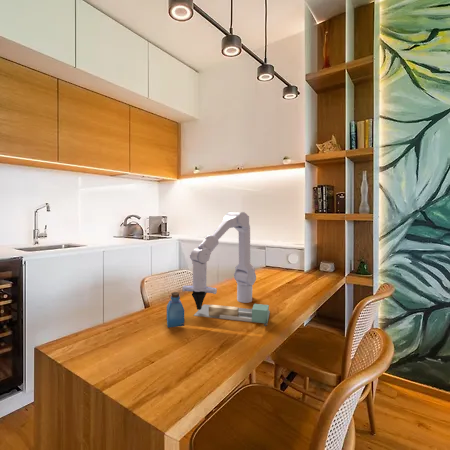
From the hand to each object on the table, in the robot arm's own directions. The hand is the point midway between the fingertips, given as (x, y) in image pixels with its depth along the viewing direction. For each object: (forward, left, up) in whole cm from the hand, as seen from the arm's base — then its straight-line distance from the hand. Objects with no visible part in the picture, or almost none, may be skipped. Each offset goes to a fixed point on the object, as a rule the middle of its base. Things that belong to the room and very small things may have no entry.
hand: (199, 308), depth 121 cm
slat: (0, +11, -2) cm, 11 cm away
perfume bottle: (+11, -6, -3) cm, 13 cm away
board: (-3, +14, -3) cm, 14 cm away
